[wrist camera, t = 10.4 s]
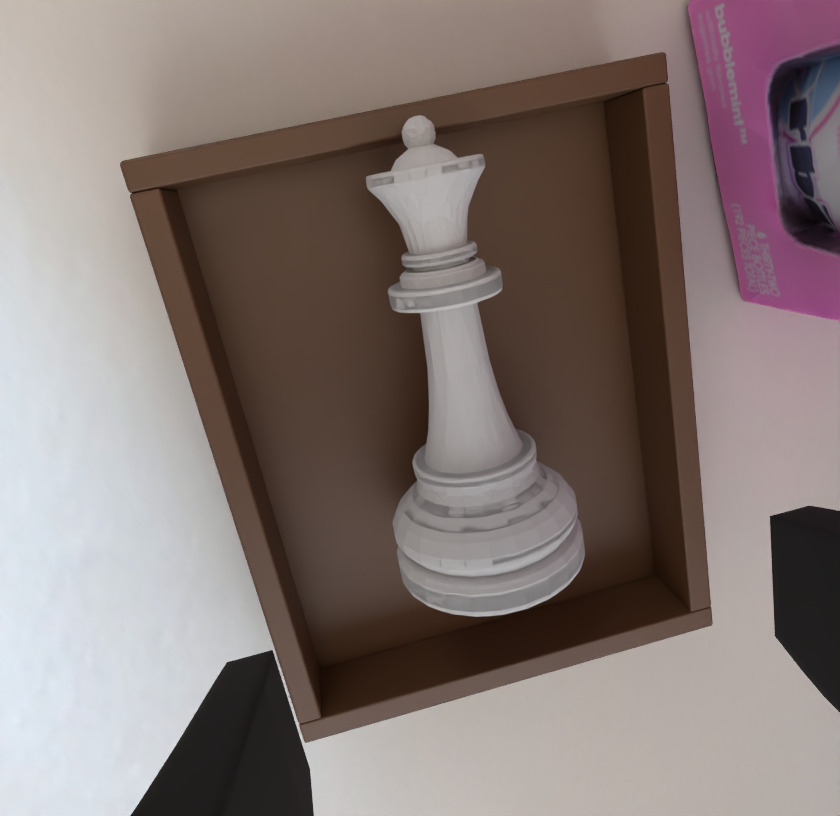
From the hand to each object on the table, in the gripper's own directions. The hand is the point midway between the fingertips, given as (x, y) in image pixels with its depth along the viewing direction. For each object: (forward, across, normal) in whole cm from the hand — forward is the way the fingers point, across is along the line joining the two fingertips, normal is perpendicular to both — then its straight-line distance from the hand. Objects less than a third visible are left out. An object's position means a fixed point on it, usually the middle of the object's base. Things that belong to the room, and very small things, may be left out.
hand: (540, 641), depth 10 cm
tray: (+9, -1, -1) cm, 9 cm away
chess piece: (+6, -1, +3) cm, 7 cm away
